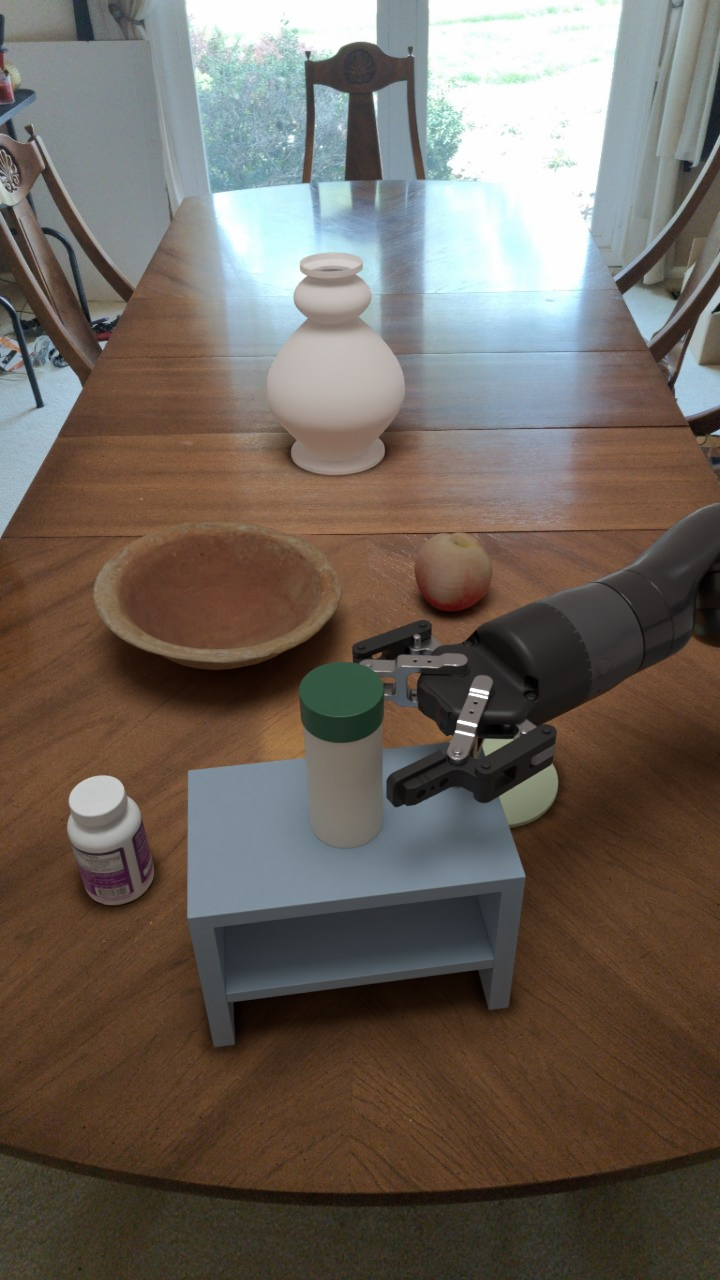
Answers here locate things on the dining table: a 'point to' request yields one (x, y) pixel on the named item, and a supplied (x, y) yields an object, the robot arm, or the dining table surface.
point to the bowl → (217, 593)
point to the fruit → (453, 571)
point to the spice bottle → (343, 752)
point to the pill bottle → (109, 841)
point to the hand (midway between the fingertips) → (349, 748)
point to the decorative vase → (335, 372)
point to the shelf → (343, 889)
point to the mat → (526, 791)
